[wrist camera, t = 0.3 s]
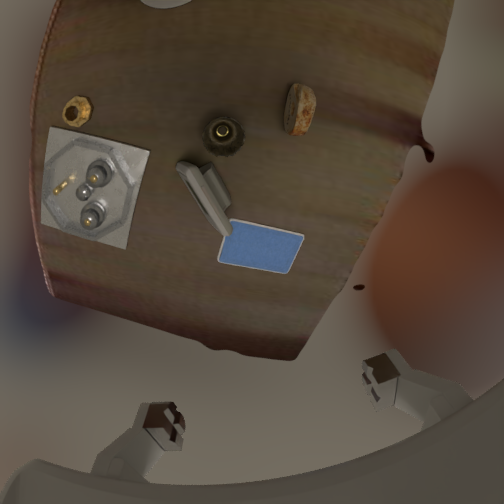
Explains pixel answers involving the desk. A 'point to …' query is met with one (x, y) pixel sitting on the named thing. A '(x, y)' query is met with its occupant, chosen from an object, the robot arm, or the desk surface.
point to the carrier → (91, 185)
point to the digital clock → (208, 193)
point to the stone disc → (299, 110)
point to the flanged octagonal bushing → (83, 108)
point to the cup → (223, 137)
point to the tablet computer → (260, 247)
